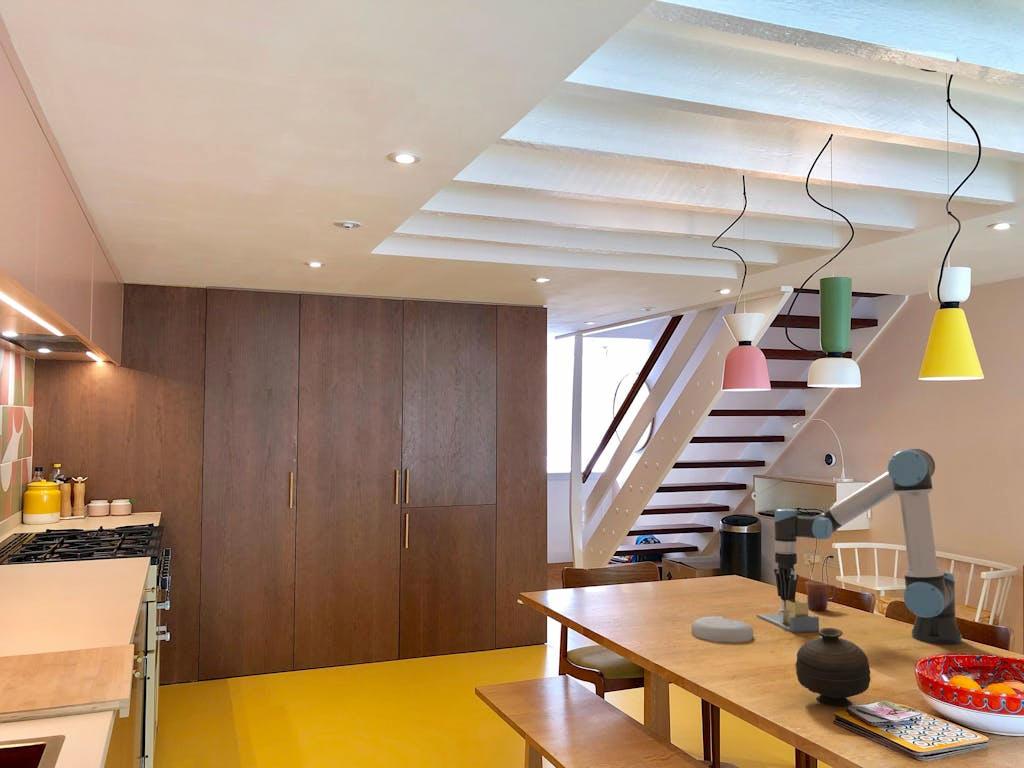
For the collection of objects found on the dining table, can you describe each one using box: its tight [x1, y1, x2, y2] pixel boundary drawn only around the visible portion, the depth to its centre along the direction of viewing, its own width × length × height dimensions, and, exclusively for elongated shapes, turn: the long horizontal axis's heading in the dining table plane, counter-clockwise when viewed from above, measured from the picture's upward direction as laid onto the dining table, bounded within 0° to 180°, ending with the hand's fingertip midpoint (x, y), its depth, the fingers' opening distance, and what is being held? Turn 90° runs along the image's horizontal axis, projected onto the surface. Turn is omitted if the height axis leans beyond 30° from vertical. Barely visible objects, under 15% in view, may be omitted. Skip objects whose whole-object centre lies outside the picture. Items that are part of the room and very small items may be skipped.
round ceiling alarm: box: [691, 615, 754, 643], centre depth 282 cm, size 25×25×6 cm
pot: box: [794, 627, 871, 708], centre depth 212 cm, size 18×18×20 cm
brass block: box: [786, 598, 809, 627], centre depth 292 cm, size 6×5×9 cm
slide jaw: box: [777, 608, 786, 625], centre depth 296 cm, size 2×9×5 cm, turn 102°
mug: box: [804, 580, 838, 612], centre depth 327 cm, size 12×9×10 cm
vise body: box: [756, 612, 820, 633], centre depth 299 cm, size 25×10×6 cm, turn 12°
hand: (786, 618), depth 299 cm, fingers closed
